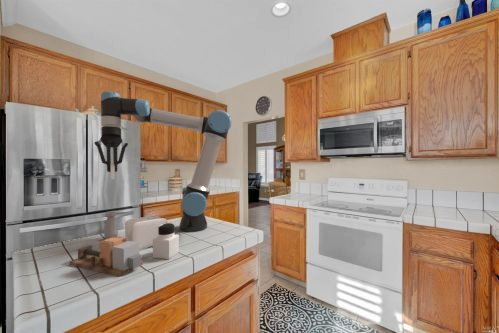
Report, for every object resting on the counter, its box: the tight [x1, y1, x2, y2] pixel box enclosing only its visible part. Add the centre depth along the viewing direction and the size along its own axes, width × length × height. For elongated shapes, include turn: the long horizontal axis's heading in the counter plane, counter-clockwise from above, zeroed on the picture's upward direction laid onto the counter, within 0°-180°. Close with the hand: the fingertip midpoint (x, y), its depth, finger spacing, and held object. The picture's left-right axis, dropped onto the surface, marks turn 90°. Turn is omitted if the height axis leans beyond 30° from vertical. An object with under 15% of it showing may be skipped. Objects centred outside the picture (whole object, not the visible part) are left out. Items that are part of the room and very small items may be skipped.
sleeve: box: [98, 235, 126, 266], centre depth 74 cm, size 5×6×8 cm
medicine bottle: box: [152, 222, 180, 260], centre depth 83 cm, size 7×7×12 cm
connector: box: [113, 241, 142, 271], centre depth 71 cm, size 7×6×7 cm
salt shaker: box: [103, 210, 119, 240], centre depth 102 cm, size 6×6×13 cm
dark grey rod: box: [84, 249, 100, 257], centre depth 76 cm, size 19×2×2 cm, turn 70°
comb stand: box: [69, 245, 144, 277], centre depth 75 cm, size 24×9×5 cm, turn 70°
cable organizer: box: [124, 214, 168, 251], centre depth 94 cm, size 15×11×12 cm
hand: (112, 179), depth 96 cm, fingers closed
